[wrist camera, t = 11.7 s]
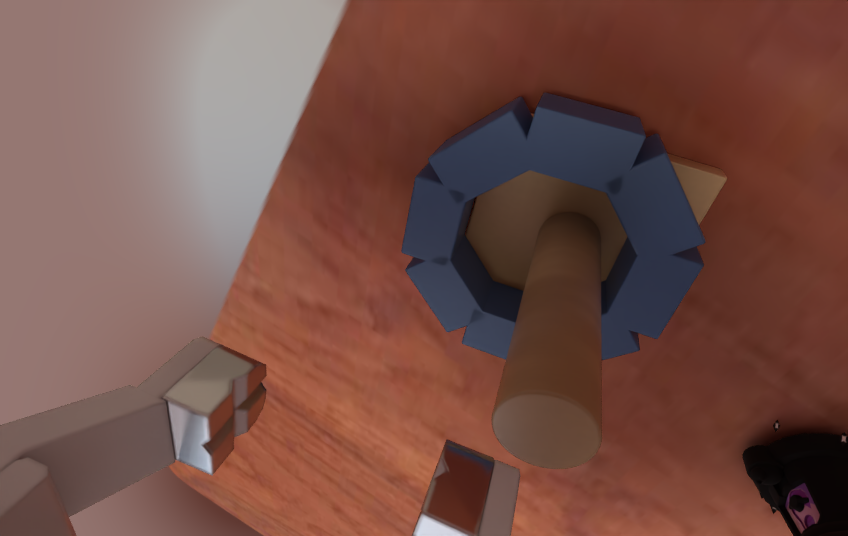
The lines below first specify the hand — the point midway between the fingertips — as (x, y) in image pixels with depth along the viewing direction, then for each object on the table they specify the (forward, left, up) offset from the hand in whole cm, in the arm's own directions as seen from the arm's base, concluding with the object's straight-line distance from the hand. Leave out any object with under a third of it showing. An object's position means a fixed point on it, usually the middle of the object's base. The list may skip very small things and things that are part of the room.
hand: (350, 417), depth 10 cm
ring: (-3, 0, -12) cm, 12 cm away
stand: (-4, 0, -13) cm, 13 cm away
